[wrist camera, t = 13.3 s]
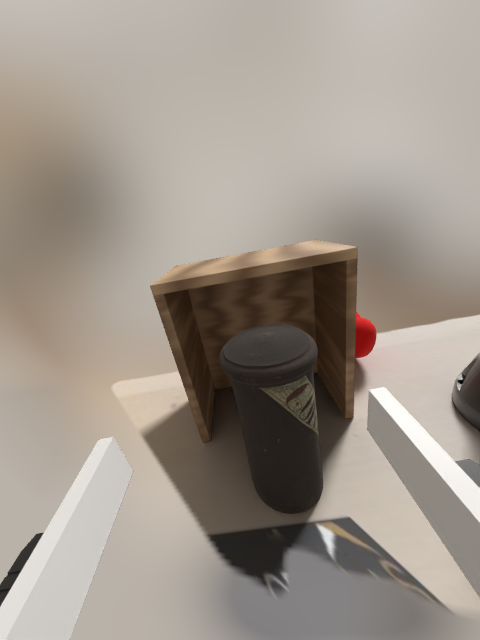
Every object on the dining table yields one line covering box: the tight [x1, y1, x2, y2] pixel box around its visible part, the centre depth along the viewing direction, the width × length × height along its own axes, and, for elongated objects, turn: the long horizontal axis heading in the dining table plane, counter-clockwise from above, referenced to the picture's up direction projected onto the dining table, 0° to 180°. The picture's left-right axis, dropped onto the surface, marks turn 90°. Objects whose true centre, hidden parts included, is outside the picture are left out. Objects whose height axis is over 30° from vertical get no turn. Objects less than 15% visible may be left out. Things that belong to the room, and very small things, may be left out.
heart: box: [355, 312, 376, 358], centre depth 46 cm, size 12×5×10 cm, turn 1°
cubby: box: [150, 240, 358, 442], centre depth 36 cm, size 23×13×25 cm, turn 92°
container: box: [219, 324, 323, 513], centre depth 25 cm, size 9×9×20 cm
